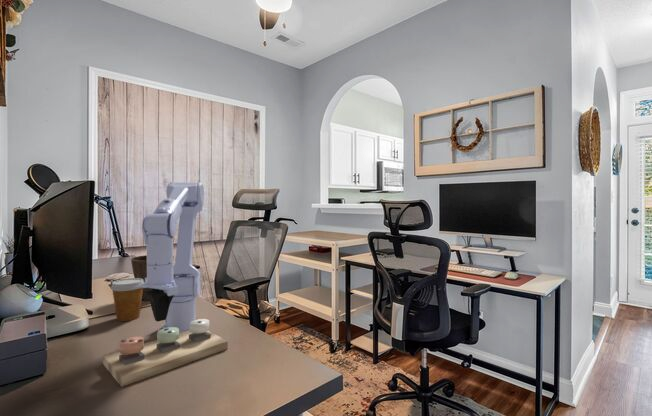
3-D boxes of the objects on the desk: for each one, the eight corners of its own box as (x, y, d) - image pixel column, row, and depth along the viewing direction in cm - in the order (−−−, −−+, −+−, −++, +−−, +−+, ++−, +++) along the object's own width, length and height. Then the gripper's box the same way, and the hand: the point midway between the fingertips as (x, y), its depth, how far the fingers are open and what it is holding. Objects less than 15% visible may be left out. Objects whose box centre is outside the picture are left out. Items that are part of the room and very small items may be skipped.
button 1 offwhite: (186, 329, 86) (186, 321, 86) (204, 324, 90) (204, 317, 90) (195, 334, 83) (195, 326, 83) (212, 329, 87) (212, 321, 87)
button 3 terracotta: (116, 349, 75) (116, 340, 75) (139, 343, 78) (139, 334, 78) (123, 356, 71) (123, 346, 71) (147, 349, 75) (147, 340, 75)
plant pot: (168, 290, 140) (168, 253, 140) (179, 298, 129) (178, 257, 129) (128, 297, 131) (127, 256, 131) (135, 306, 119) (135, 262, 119)
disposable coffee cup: (138, 311, 114) (137, 276, 114) (150, 317, 108) (149, 280, 108) (106, 318, 107) (106, 281, 107) (117, 325, 101) (117, 286, 101)
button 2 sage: (154, 339, 81) (154, 330, 81) (174, 333, 84) (174, 325, 84) (161, 344, 77) (161, 335, 77) (182, 338, 81) (182, 330, 81)
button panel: (102, 364, 77) (102, 351, 77) (201, 333, 94) (201, 323, 94) (121, 387, 67) (121, 372, 67) (227, 348, 85) (227, 337, 85)
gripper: (131, 261, 81) (131, 317, 81) (154, 269, 71) (154, 332, 71) (161, 258, 86) (161, 310, 86) (186, 265, 76) (186, 323, 77)
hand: (160, 319), depth 79 cm, fingers closed
